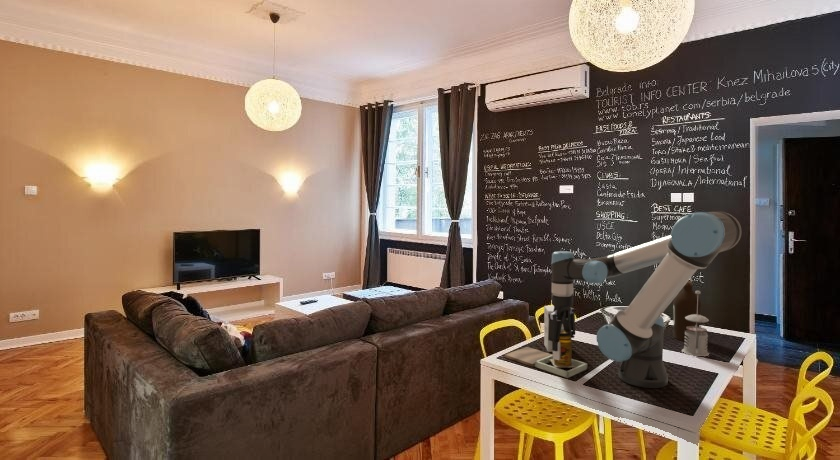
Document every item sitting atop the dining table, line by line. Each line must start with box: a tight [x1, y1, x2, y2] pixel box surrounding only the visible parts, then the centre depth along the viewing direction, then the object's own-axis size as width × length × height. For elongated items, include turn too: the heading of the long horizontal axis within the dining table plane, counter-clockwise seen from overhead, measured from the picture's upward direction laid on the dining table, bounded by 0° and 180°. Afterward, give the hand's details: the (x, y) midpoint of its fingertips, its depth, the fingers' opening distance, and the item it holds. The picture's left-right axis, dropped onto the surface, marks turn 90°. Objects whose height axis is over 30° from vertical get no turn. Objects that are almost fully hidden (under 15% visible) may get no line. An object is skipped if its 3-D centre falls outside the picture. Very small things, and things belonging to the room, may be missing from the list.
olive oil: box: [672, 280, 703, 342], centre depth 199 cm, size 11×11×25 cm
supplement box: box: [543, 305, 564, 353], centre depth 188 cm, size 10×9×17 cm
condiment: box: [550, 330, 576, 368], centre depth 167 cm, size 7×8×12 cm
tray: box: [534, 354, 588, 379], centre depth 168 cm, size 14×13×2 cm
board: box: [504, 346, 553, 367], centre depth 178 cm, size 13×14×1 cm
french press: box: [681, 290, 710, 357], centre depth 180 cm, size 10×12×25 cm
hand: (561, 357), depth 167 cm, fingers closed on condiment, 6 cm apart
